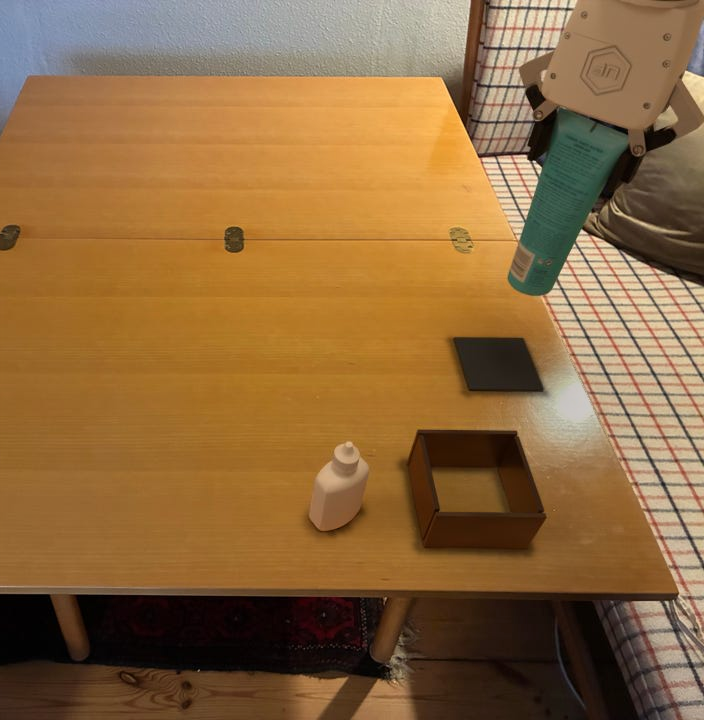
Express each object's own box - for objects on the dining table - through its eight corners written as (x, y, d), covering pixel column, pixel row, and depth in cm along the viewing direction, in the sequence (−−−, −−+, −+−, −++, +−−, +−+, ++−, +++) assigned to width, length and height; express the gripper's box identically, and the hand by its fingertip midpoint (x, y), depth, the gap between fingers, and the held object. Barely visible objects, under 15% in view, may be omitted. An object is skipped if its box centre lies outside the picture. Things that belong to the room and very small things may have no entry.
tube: (570, 288, 77) (645, 127, 63) (548, 308, 75) (622, 146, 61) (510, 258, 81) (569, 100, 67) (487, 277, 79) (544, 116, 65)
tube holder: (500, 463, 77) (517, 430, 73) (527, 548, 70) (547, 517, 65) (406, 462, 77) (417, 429, 73) (423, 547, 70) (436, 515, 66)
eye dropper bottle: (305, 496, 74) (315, 426, 65) (357, 494, 74) (374, 424, 66) (310, 533, 71) (322, 465, 62) (364, 530, 71) (384, 462, 63)
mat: (522, 339, 91) (523, 337, 90) (543, 391, 84) (544, 389, 84) (453, 339, 91) (453, 336, 90) (468, 390, 84) (469, 388, 84)
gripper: (530, -41, 57) (475, 153, 70) (760, 13, 49) (650, 222, 62) (571, -61, 61) (511, 127, 74) (791, -14, 53) (681, 189, 65)
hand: (575, 169), depth 68 cm, fingers closed on tube, 7 cm apart
